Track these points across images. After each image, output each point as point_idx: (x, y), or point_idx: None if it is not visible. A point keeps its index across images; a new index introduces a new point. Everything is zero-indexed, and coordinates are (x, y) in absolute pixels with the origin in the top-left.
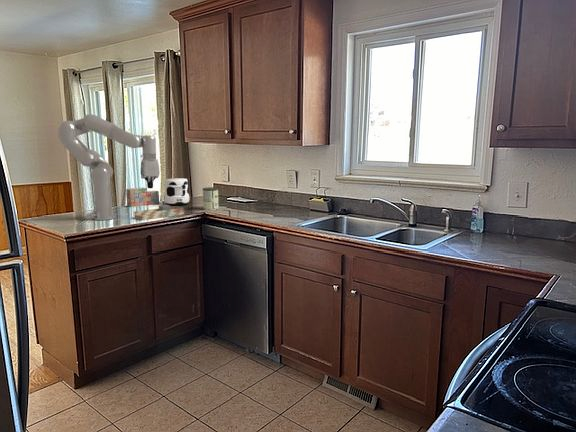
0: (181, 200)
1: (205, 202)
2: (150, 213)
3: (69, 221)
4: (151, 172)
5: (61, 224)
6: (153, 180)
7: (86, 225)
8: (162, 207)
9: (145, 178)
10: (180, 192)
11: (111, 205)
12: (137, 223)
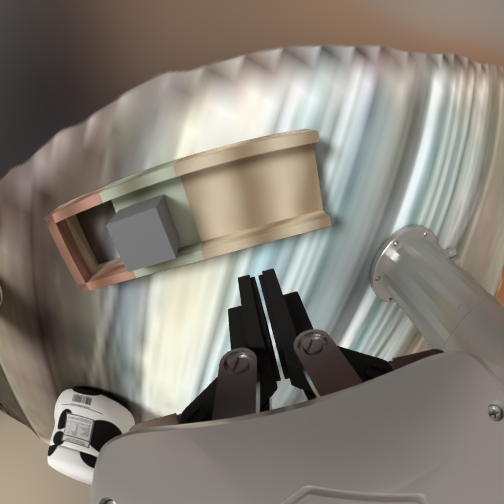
0: (75, 396)
1: None
2: (260, 140)
3: (471, 258)
4: (336, 493)
5: (493, 223)
6: (226, 368)
7: (475, 165)
8: (159, 212)
9: (389, 363)
10: (72, 423)
11: (421, 278)
12: (347, 66)
